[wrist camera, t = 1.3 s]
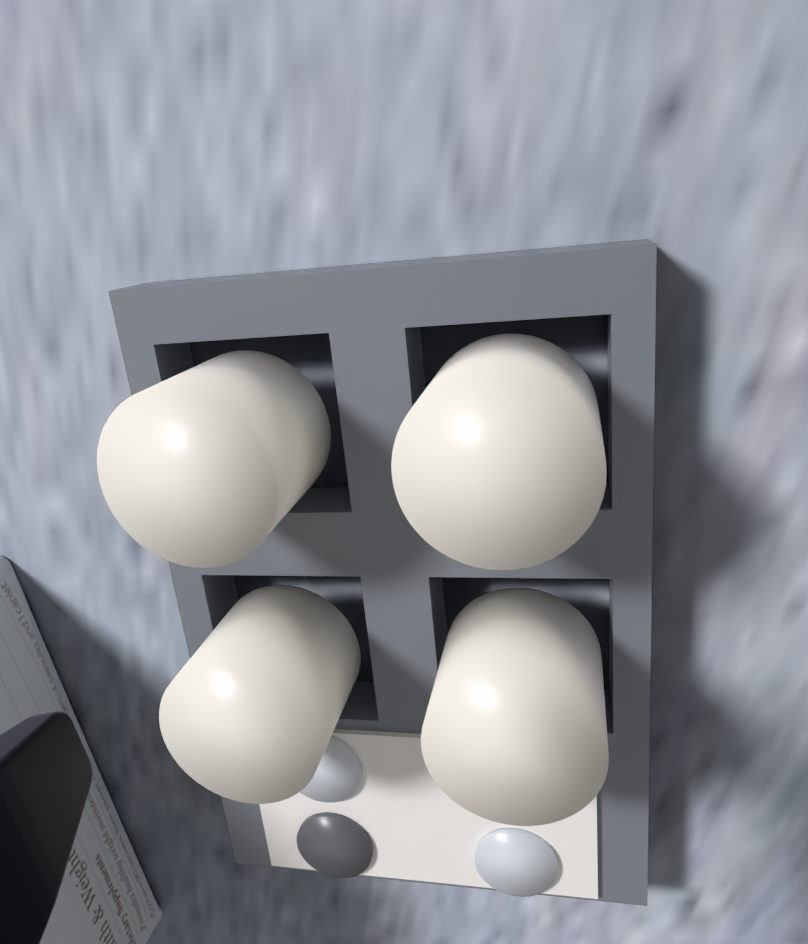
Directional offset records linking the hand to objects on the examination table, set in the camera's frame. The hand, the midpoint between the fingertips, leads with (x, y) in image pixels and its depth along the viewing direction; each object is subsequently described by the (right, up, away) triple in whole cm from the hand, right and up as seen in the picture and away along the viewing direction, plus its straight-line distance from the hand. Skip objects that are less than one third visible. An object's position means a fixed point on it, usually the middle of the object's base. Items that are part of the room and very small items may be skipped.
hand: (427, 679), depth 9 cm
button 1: (-4, +4, +12) cm, 13 cm away
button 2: (-4, -3, +14) cm, 15 cm away
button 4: (+3, -3, +12) cm, 13 cm away
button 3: (+2, +4, +10) cm, 11 cm away
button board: (0, -1, +15) cm, 15 cm away
